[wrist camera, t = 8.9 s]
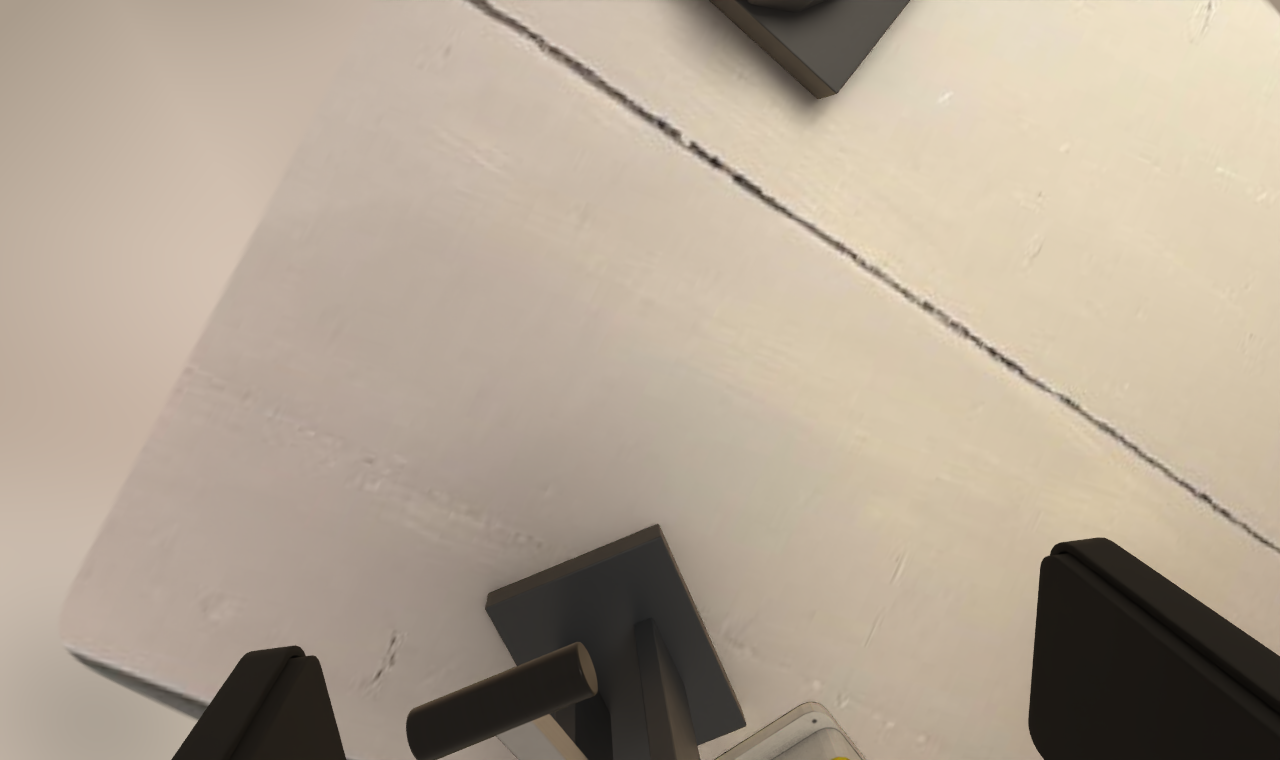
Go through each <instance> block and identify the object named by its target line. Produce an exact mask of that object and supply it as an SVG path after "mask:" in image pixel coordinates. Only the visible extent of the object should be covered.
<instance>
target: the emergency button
mask: <svg viewBox="0 0 1280 760" xmlns="http://www.w3.org/2000/svg"><path fill="white" fill-rule="evenodd" d="M715 760H866V759H865V758H864V756H863V755H862V754H861V753H860V751H859V750H858V749H857V747H856V746H855V745H854V744H853V742H852V741H851V740H850V739H849V737H848V736H847V735H846V733H845V732H844V731H843V730H842V728H841V727H840V726H839V724H838V723H837V722H836V721H835V719H834V718H833V717H832V716H831V714H830V713H829V712H828V710H827V709H826V708H824V707H823V706H822V705H820V704H819V703H813V702H808V703H805V704H802V705H800V706H799V707H797V708H795V709H794V710H792V711H791V712H789V713H788V714H786V715H784V716H783V717H781V718H780V719H778V720H777V721H775V722H773V723H772V724H770V725H769V726H767V727H766V728H764V729H762V730H761V731H759V732H758V733H756V734H755V735H753V736H751V737H750V738H748V739H747V740H745V741H744V742H742V743H741V744H739V745H737V746H736V747H734V748H733V749H731V750H730V751H728V752H726V753H725V754H723V755H722V756H720V757H719V758H717V759H715Z"/></svg>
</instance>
